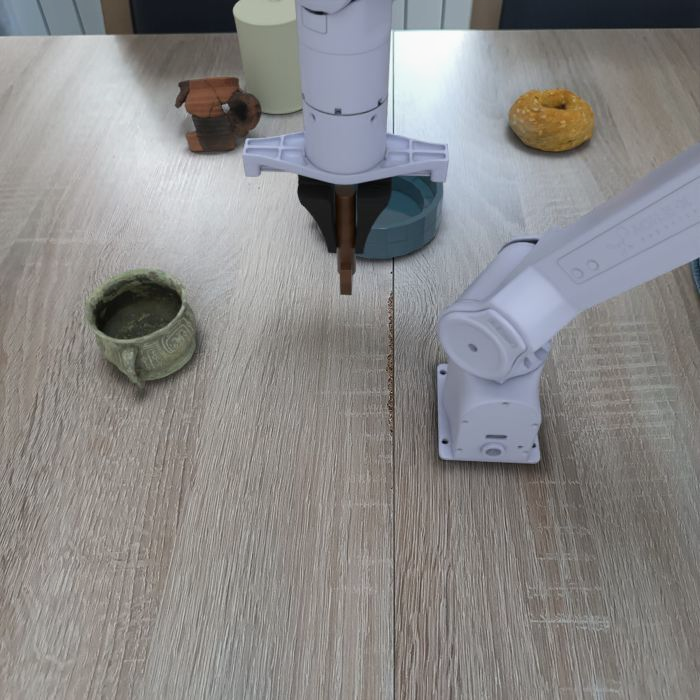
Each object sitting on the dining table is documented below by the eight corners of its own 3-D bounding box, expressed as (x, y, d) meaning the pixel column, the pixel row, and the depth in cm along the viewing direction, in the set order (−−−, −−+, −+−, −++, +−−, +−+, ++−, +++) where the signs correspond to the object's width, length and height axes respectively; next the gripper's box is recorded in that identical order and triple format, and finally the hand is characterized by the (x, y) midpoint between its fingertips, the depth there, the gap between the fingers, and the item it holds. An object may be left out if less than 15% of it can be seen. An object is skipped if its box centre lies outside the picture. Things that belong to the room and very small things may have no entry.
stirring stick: (355, 295, 56) (355, 203, 48) (336, 295, 56) (333, 203, 48) (356, 270, 58) (357, 178, 50) (338, 270, 58) (336, 177, 50)
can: (319, 79, 90) (313, -14, 81) (309, 115, 85) (302, 21, 75) (254, 77, 91) (240, -15, 82) (240, 113, 85) (223, 19, 76)
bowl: (441, 263, 67) (444, 230, 63) (310, 260, 68) (307, 226, 64) (438, 182, 75) (441, 148, 72) (322, 180, 76) (320, 147, 72)
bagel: (612, 142, 79) (623, 106, 75) (532, 165, 76) (540, 128, 73) (565, 102, 85) (574, 66, 81) (490, 121, 82) (495, 85, 79)
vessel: (121, 302, 65) (100, 255, 60) (210, 300, 64) (197, 253, 60) (92, 403, 57) (65, 359, 52) (192, 401, 57) (176, 356, 52)
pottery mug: (166, 154, 81) (154, 82, 78) (213, 147, 89) (203, 82, 86) (247, 149, 76) (237, 72, 73) (289, 143, 84) (281, 73, 81)
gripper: (453, 62, 45) (434, 215, 56) (244, 57, 46) (265, 210, 56) (458, 121, 41) (436, 274, 51) (227, 115, 41) (253, 268, 52)
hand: (346, 245), depth 54 cm, fingers closed on stirring stick, 1 cm apart
